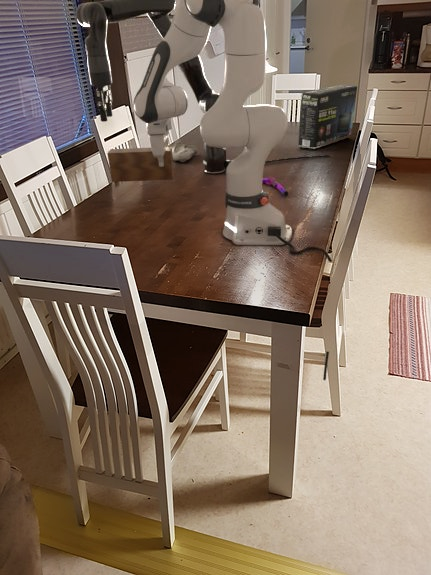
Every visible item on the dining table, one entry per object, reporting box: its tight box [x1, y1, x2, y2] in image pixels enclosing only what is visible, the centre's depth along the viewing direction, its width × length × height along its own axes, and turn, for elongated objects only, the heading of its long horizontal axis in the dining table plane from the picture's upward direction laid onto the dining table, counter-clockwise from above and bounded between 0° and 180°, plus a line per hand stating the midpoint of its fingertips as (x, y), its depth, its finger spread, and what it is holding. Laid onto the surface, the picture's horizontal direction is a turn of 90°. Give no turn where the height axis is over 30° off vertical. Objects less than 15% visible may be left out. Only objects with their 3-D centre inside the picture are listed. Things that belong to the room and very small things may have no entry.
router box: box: [297, 84, 358, 151], centre depth 238 cm, size 36×11×27 cm, turn 134°
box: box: [106, 146, 175, 183], centre depth 169 cm, size 23×6×11 cm, turn 89°
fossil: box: [172, 142, 199, 163], centre depth 229 cm, size 18×11×15 cm
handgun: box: [262, 176, 289, 197], centre depth 185 cm, size 21×8×2 cm, turn 11°
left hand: (107, 118), depth 168 cm, fingers open, 8 cm apart
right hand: (162, 163), depth 169 cm, fingers closed on box, 6 cm apart
